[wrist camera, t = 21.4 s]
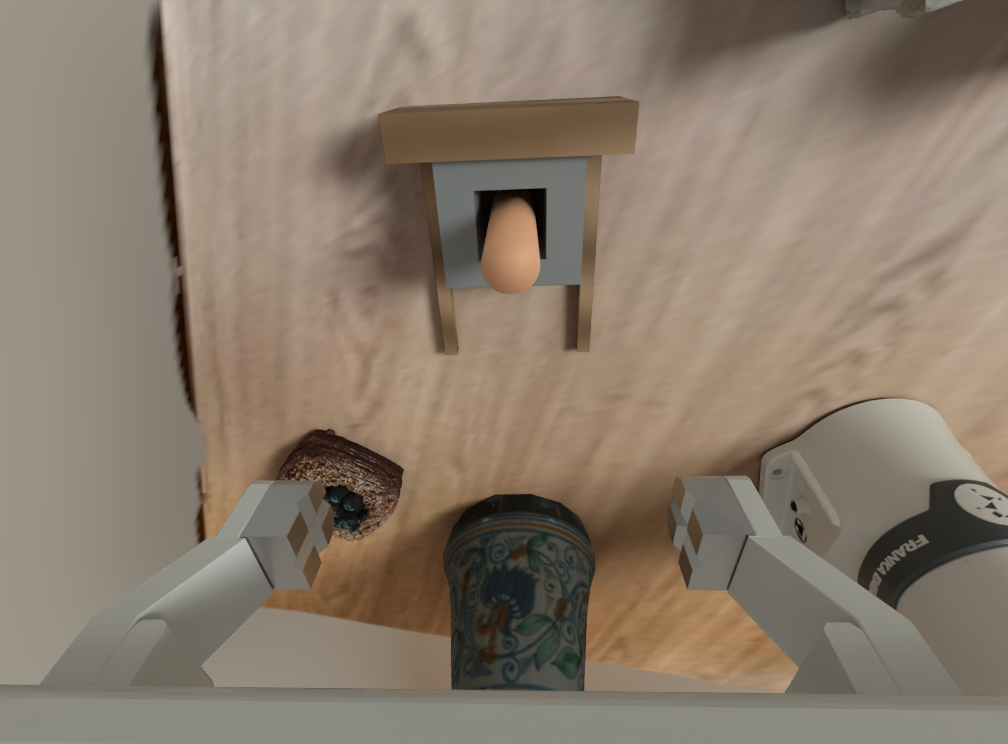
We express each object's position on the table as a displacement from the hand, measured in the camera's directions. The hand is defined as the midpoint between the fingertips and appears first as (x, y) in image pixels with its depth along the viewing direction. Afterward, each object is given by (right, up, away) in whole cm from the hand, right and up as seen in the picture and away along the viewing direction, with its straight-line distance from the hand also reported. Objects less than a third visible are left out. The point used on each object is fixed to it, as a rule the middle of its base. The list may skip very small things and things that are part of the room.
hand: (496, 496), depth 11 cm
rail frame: (+1, +13, +24) cm, 27 cm away
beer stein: (+2, -18, +44) cm, 47 cm away
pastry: (-17, -8, +39) cm, 43 cm away
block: (+1, +15, +23) cm, 27 cm away
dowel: (+1, +15, +23) cm, 27 cm away
